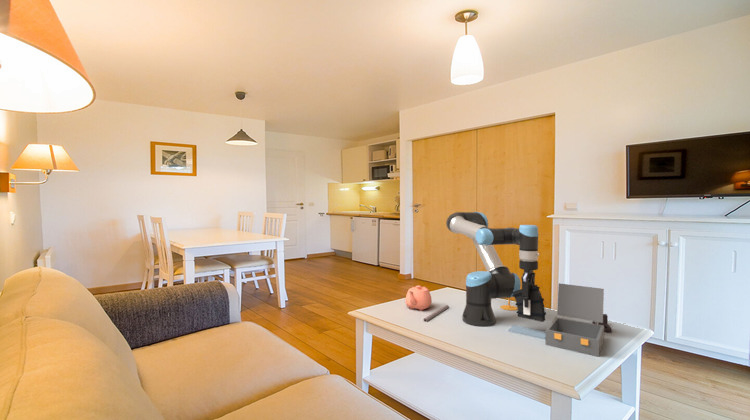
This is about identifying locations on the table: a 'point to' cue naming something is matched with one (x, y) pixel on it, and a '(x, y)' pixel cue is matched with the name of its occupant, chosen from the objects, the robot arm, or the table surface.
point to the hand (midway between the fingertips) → (528, 312)
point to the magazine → (531, 304)
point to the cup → (508, 306)
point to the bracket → (605, 324)
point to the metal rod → (436, 313)
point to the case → (575, 336)
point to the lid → (580, 302)
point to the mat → (528, 331)
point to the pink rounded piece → (418, 298)
